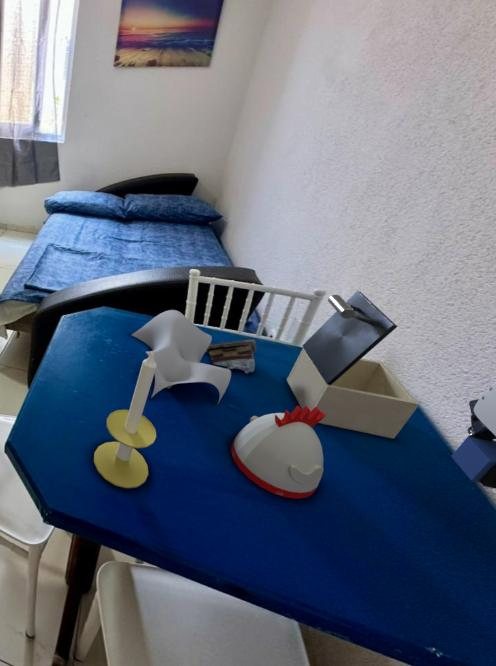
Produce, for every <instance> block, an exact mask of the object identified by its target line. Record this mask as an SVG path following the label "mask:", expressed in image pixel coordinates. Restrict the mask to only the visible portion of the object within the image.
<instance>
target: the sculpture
mask: <svg viewBox="0 0 496 666" xmlns="http://www.w3.org/2000/svg"><path fill="white" fill-rule="evenodd" d="M131 336H132V337H134V338H137V339H138V340H140V341H142V342H144V343H145V344H146V345H147V346H148V347H149V348H151V351H145V353H146V355H147V357H149V356H150V355H151V353H153V354H154V361H155V363H156V365H157V366H156V370H155V373H154V386H153V387H154V388H153V391H152V395H151V397H150V399H152V398H153V397H154V396H155V395H156V394H158V393H159V392H160V391H162V390H163V389H165V388H167V389H170V388H172V387H173V386H175V385H177V384H188V383H207V384H210V385H213V386H215V388H216V389H217V390H218V393H219V397H218V398H219V399H218V402H217V405H216V406H218V405H219V403H220V401H221V400H222V398H223V397H224V395H225V393H226V391H227V388H228V386H229V384H230V381H231V378H232V371H230V370H229V369H227V367H222V366H218V365H214V364H207V363H203V362H201V360H202V358H203V357H204V355H205V353H207V352H206V350H207V348H208V347H209V345H210V344H212V339H213V337H212V335H210V334H208V333H206V332H205V331H203V330H201V328H199V327H198V326H197V325H196V324H194V323H193V322H192V321H190V319H189V318H188V317H186V315H184V314H183V313H182V312H180V311H178V310H176V309H168V310H164V311H163V312H161V313H159V314H158V315H156V316H155V317H153V318H151V319H150V321H148V322H146V323H145V324H144V325H143V326H142V327H141V328H139V329H138V330H137V331H135V332H133V333H132V334H131ZM153 351H154V352H153Z"/></svg>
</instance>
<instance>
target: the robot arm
mask: <svg viewBox="0 0 496 666" xmlns="http://www.w3.org/2000/svg"><path fill="white" fill-rule="evenodd" d="M468 405H469V409H470V425H471V426H469V427H468V428H467V433H468V436H467V437H472V438H477V439H482V440H487V441H493V442H496V381H495V382H493V383H492V385H490V387H489V388H487V390H485V391H484V393H483V394H482V395H481V397H480V398H476V399H471V400H470V401H469V402H468ZM479 484H481V485H482V486H483V487H485V488H490V489H495V490H496V465H494V466H493V467H492V469H491V470H490V471H489V472H488V473H487V474H486V475H485V476H484V477H483V478H482V479H481V481H480V483H479Z"/></svg>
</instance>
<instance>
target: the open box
mask: <svg viewBox="0 0 496 666" xmlns="http://www.w3.org/2000/svg"><path fill="white" fill-rule="evenodd" d="M286 382H287V384H288V385H289V387H290V390H291V391H292V394H293V395H294V397H295V399H296V400H297V402H298V404H299V407H300V408H301V409H302V410H303V408H304V407H305V406H307V407H308V408H309V409H310V412H311V411H312V410H313V409H314V408H315V407H317V408H318V409H319V410H320V412H323V413H324V414H325V415H326V416H325V417H324V418H323V419H322V420H321V421H319V422H318V423H317V424H322V425H326V426H327V425H328V426H332V427H336V428H341V429H346V430H352V431H356V432H360V433H365V434H368V435H369V434H370V435H375V436H379V437H384V438H388V439H393V440H394V439H396V437H397V435H398V434H399V433H400V431H401V430H402V429H403V427H404V426H405V425H406V424H407V422H408V421H409V419H410V418H411V417H412V415H413V414H414V413H415V411H416V410H417V409H418V407H419V406H420V403H419V402H418V401H417V400H416V399H415V397H414V396H413V395H412V394H411V393H410V392H409V391H408V389H407V388H406V387H405V386H404V385H403V384H402V383H401V382H400V381H399V379H398V378H397V377H396V376H395V375H394V374H393V373H392V371H390V368H388V367H387V366H386V365H385V363H384V362H383V361H379V360H373V359H367V358H363V357H362V358H361V359H360V360H359V361H358V362H357V363H356V364H354V365H353V366H352V367H351V368H350V369H349V370H348V371H347V372H345V373H344V374H343V375H342V376H341V377H340V378H339V379H337V380H336V381H335V382H334V383H333V384H332V385H328V384H327V383H326V382H325V380H324V379H323V377H322V376H321V374H320V372H319V371H318V369H317V368H316V366H315V365H314V363H313V362H312V360H311V359H310V357H309V356H308V354H307V352H306V351H305V349H304V348H303V347H302V349H301V351H300V353H299V355H298V357H297V358H296V361H295V363H294V364H293V367H292V368H291V371H290V373H289V375H288V377H286Z"/></svg>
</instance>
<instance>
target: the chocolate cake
mask: <svg viewBox="0 0 496 666" xmlns="http://www.w3.org/2000/svg"><path fill="white" fill-rule="evenodd" d="M256 342H257V338H256V339H253V338H252V339H244V340H242V339H241V340H234V341H227V342H218V343H210V345H209V347H208V348H207V350H206V352H205V353H207V354H208V355H209V357H210V360H211V365H214V366H218V367H224V368H226V369H229V370H230V371H231V372H233V371H234V369H235V370H240V371H243V373H244V374H250V373H254V371H255V369H256V360H255V355H254V354H255V353H256V351H257V348H258V346H257V343H256Z"/></svg>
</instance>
